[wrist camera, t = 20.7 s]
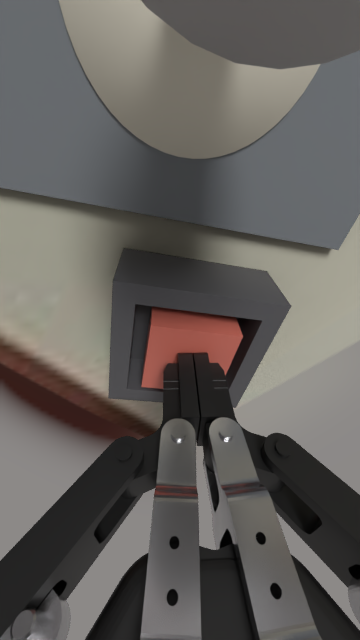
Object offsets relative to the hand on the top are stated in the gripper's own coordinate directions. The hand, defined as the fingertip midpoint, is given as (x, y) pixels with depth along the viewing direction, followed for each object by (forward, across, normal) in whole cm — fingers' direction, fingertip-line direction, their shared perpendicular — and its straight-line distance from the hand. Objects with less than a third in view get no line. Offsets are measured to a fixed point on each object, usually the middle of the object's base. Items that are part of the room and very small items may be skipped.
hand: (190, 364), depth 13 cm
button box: (+4, 0, 0) cm, 4 cm away
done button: (+2, 0, 0) cm, 2 cm away
